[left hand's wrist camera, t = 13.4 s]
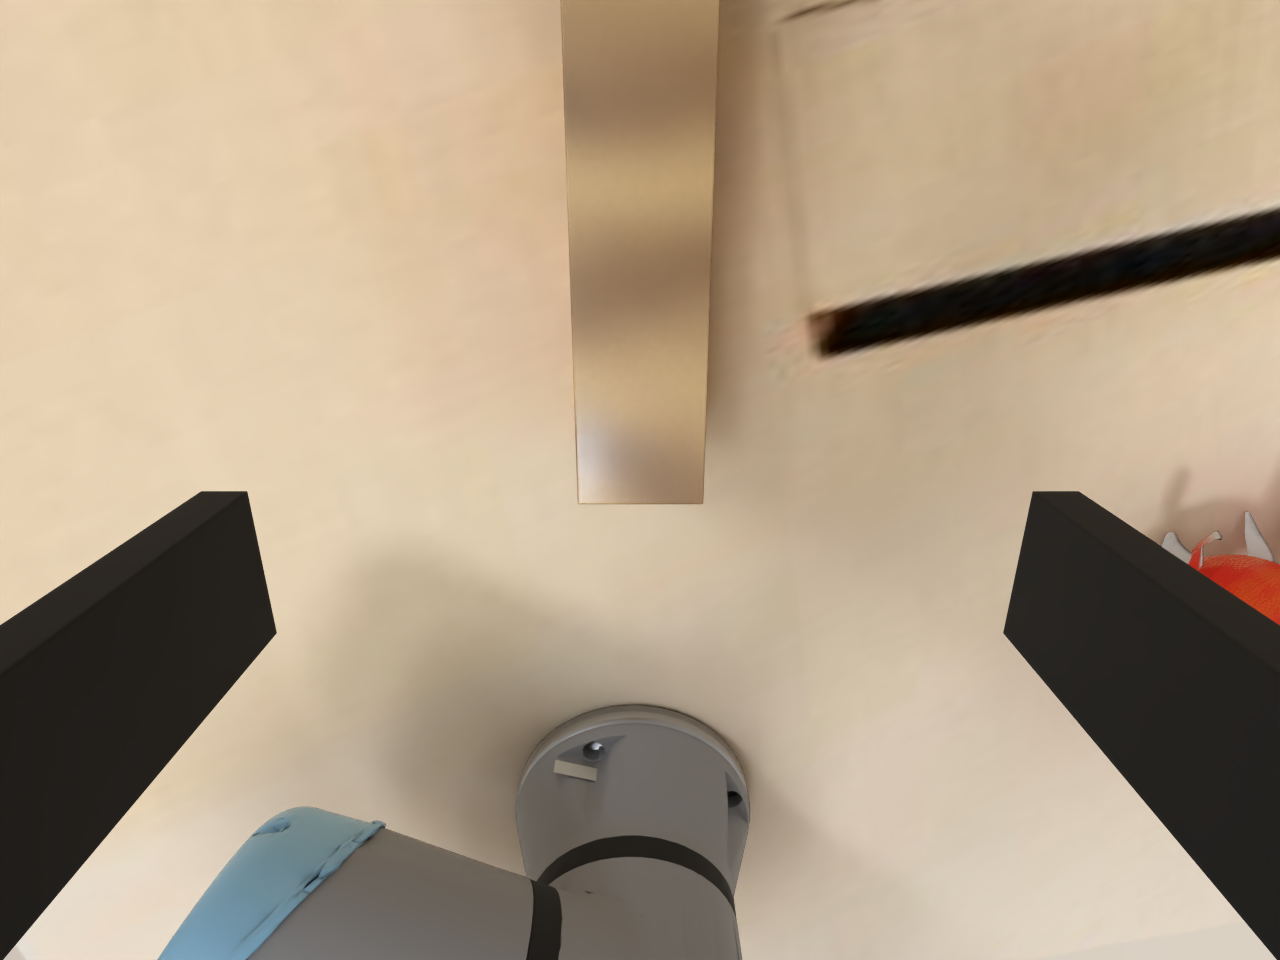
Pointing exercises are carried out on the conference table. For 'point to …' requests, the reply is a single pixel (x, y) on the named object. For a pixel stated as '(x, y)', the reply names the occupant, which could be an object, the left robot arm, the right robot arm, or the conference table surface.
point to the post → (640, 242)
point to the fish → (1238, 569)
